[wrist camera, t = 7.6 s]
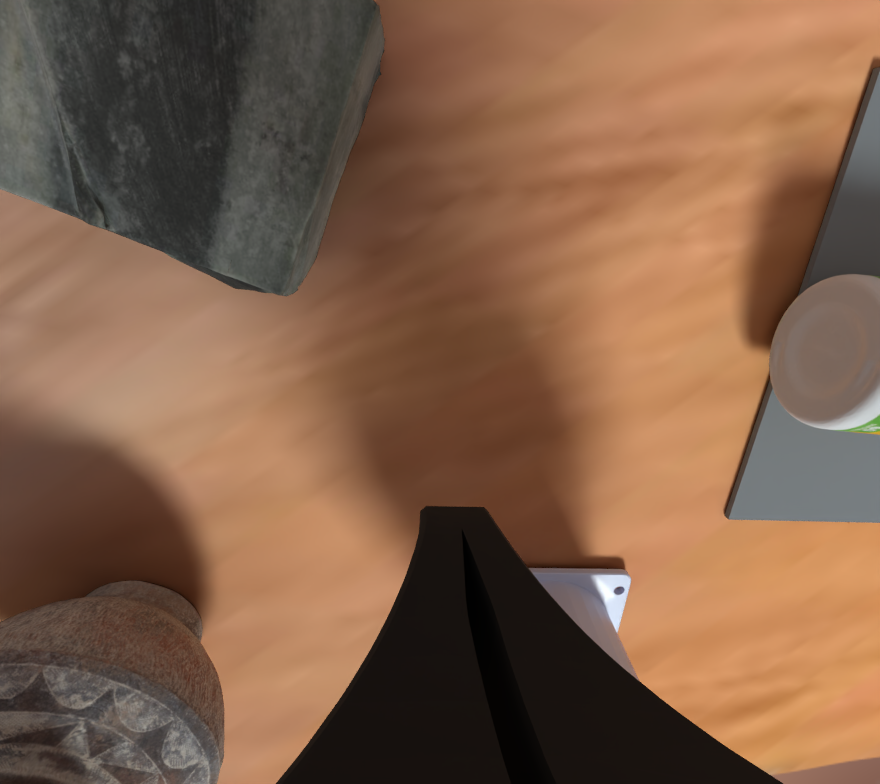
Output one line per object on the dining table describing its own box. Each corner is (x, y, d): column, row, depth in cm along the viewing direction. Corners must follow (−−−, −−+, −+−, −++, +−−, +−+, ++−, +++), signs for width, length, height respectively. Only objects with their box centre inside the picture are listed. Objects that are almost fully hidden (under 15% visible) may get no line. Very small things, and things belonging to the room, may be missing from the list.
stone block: (304, 303, 20) (271, 346, 15) (-130, 137, 17) (-347, 122, 12) (389, 47, 17) (381, -4, 12) (-124, -210, 14) (-412, -418, 9)
